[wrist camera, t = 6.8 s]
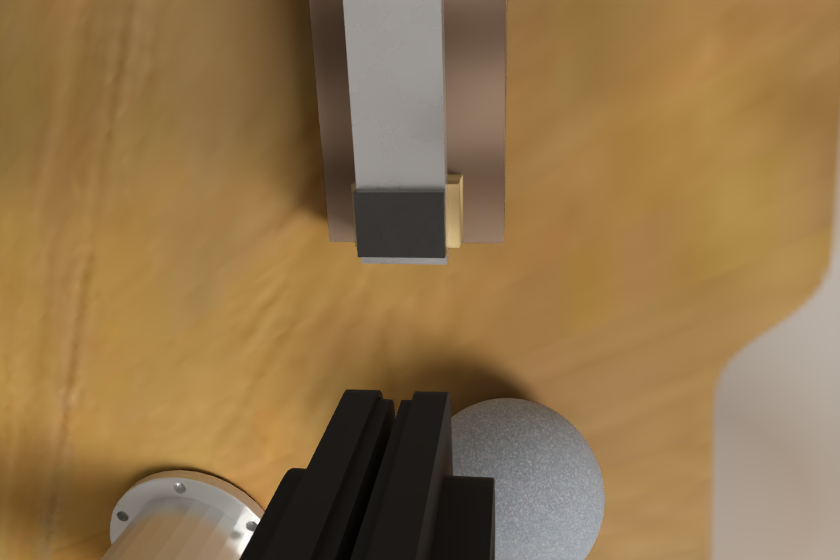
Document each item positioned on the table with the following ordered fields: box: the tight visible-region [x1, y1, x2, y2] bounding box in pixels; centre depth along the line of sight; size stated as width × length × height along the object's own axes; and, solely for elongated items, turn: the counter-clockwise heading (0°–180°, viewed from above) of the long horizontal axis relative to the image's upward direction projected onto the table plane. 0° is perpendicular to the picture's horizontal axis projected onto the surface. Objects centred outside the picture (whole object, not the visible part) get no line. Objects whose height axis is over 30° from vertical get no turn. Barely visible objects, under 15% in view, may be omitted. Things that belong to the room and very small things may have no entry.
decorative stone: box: [451, 398, 605, 560], centre depth 35 cm, size 10×10×10 cm
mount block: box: [309, 0, 507, 248], centre depth 30 cm, size 19×9×5 cm, turn 2°
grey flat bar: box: [343, 0, 449, 264], centre depth 27 cm, size 17×5×2 cm, turn 2°
